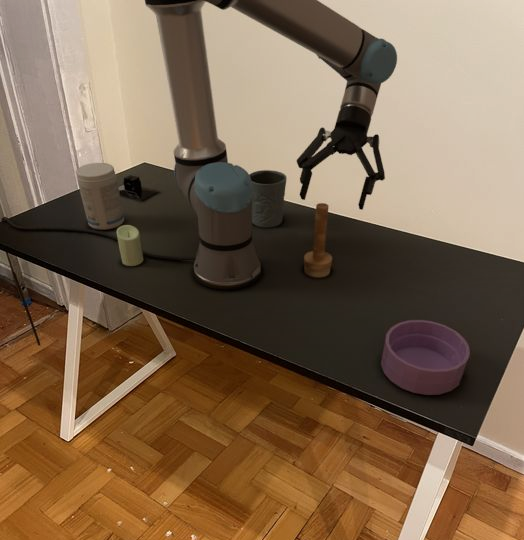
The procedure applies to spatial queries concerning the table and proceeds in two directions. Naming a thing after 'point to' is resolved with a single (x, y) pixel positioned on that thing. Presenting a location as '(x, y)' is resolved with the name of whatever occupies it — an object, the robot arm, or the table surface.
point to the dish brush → (319, 246)
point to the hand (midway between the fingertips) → (330, 202)
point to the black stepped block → (134, 189)
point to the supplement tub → (100, 195)
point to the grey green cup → (267, 197)
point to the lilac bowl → (424, 357)
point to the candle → (129, 245)
